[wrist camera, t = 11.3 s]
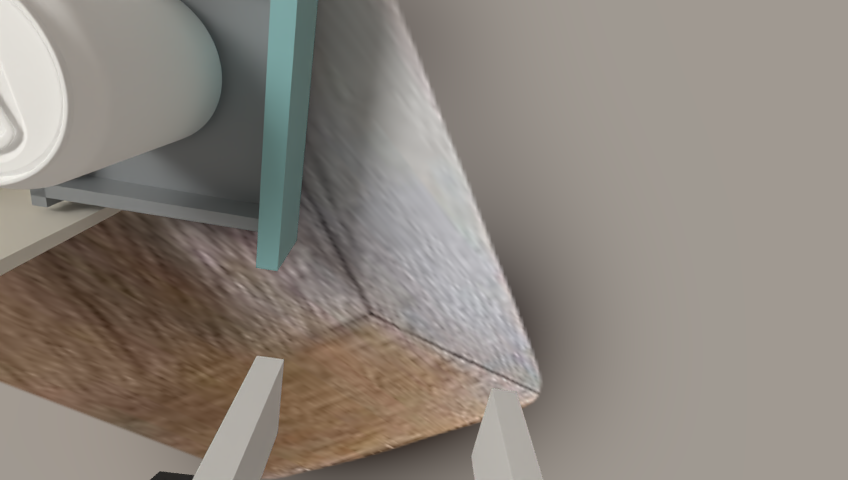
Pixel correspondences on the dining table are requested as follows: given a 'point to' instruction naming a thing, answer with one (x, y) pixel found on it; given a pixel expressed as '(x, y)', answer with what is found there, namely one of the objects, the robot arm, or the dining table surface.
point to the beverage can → (98, 84)
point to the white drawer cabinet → (40, 225)
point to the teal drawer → (228, 135)
